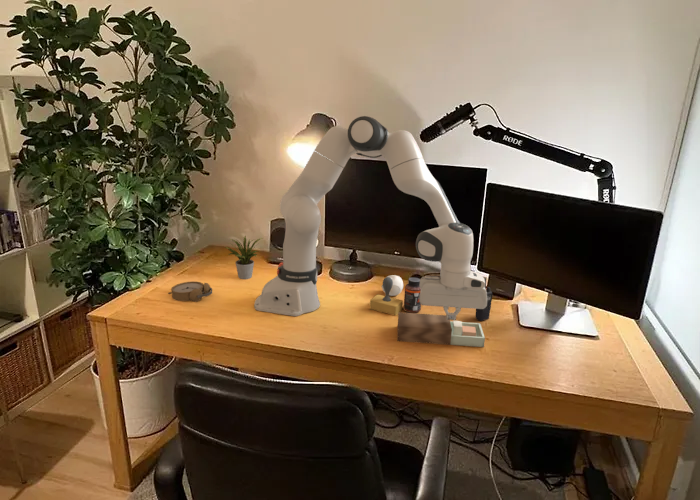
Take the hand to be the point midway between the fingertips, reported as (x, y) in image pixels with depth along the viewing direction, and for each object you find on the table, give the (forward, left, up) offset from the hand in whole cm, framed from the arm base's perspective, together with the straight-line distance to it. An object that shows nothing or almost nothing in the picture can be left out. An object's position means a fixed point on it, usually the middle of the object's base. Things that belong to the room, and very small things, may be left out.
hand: (450, 319), depth 166 cm
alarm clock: (-89, +18, -7) cm, 91 cm away
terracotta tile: (+6, 0, -3) cm, 7 cm away
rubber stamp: (-20, +18, -6) cm, 27 cm away
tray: (+5, 0, -6) cm, 8 cm away
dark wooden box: (-8, 0, -6) cm, 10 cm away
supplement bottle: (-11, +19, -6) cm, 22 cm away
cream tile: (+1, 0, -4) cm, 4 cm away
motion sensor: (-18, +31, -6) cm, 36 cm away
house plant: (-75, +41, -6) cm, 86 cm away
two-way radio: (+12, +16, -6) cm, 21 cm away
